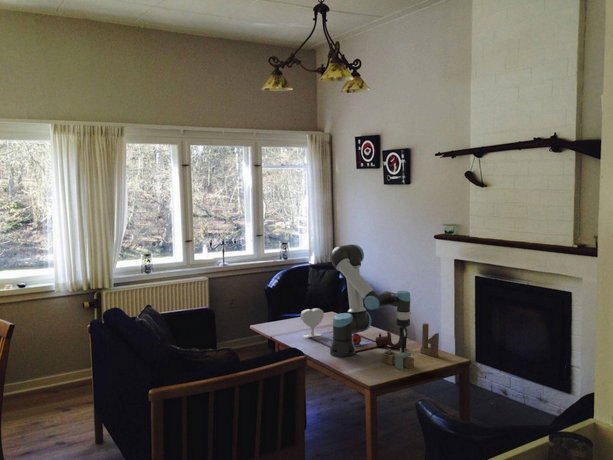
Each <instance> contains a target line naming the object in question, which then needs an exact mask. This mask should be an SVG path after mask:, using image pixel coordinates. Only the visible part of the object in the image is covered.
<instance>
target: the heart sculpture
mask: <svg viewBox="0 0 613 460" xmlns="http://www.w3.org/2000/svg"><path fill="white" fill-rule="evenodd" d="M324 315H325V314H324V311H323V310H322V309H320V308H318V307H317V308H316V307H315V308H312V309H309V308H307V309H304V310H302V311H301V312H300V320H301V321H302V323H303V324H305V325H306V326H307V327H308V328H309V327H310V334H306V335H304V334H303V335H302V338H307V339H308V338H311V337H312V338H313V337H319V336H321V337H322V334H321V333H315V328H316V327H317V326H319V325H320V323H322V321H323V319H324Z"/></svg>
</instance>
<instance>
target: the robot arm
mask: <svg viewBox="0 0 613 460" xmlns="http://www.w3.org/2000/svg"><path fill="white" fill-rule="evenodd" d="M364 253H365V252H364V250H363V248H362V247H361V246H360V245H358V244H347V245H345V244H344V245H338V246H335V247H334V248H333V249H332V251H331V252H330V261H331V264H332V265H333V267H334V269H335V270H336V271H339V272H340V273H341V274H342V275H343V276H344V277H345V279H346V287H347V295H348V296H347V297H348V305H349V309H348V310H347V312H343V313H340V312H339V313H338V314H335V315H334V316H333V320H332V342H331V345H330V348H329V354H330V355H331V356H334V357H339V358H349V357H352V356H355V355H356V348H355V345H354V342H353V335H355V334H358V333H364V332H366V331H367V330H369V329H370V328H371V325H372V316H371V315H370V313H369V312H368V311H367V310H377V309H380V308H385V307H389V306H391V307H395V308H396V326H398V332H399V333H398V336H399V338H398V342H400V343H399V344H400V348H399V353H402V352H406V349H407V341H408V340H407V338H408V333H407V332H408V329H407V327H410V325H411V324H410V323H411V314H412V312H411V292H410V291H408V290H398V291H397V292H396V293H395V292H391V291H388V290H387V291H386V290H383V291H381V292H380V293H379V294H378V293H377V292H376V291H375V290H374V288H373V287H372V286H371V285H370V284H369V283H368V282H367V281H366V280H365V277H363V276H362V275H361V274H360V273H361V272H360V268H361V267H362V262H363V261H364V259H365V254H364ZM364 305H365V306H364Z"/></svg>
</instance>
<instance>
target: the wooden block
mask: <svg viewBox="0 0 613 460" xmlns="http://www.w3.org/2000/svg"><path fill="white" fill-rule="evenodd" d="M429 325H430V324H429V323H426V322H425V323H422V329H421V331H422V333H421V335H422V336H421V340H422V341H421V346H420V353H421V354H424V355H426V356H430V357H433V358H437V357H439V347H440V346H439V342H440V339H439V338H440V333H439V332H438V333H434V334H433V335H432V336H430V338H429V330H430V329H429V327H430V326H429ZM429 346H430V347H429Z"/></svg>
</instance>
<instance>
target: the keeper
mask: <svg viewBox="0 0 613 460" xmlns="http://www.w3.org/2000/svg"><path fill="white" fill-rule="evenodd" d="M397 353H398V354H396V355H395V364H394V367H395V368H396V369H399V370H403V369H404V367H403V358H405V357H412V353H410V352H407V351H405V352H402V353H400V352H397Z"/></svg>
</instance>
